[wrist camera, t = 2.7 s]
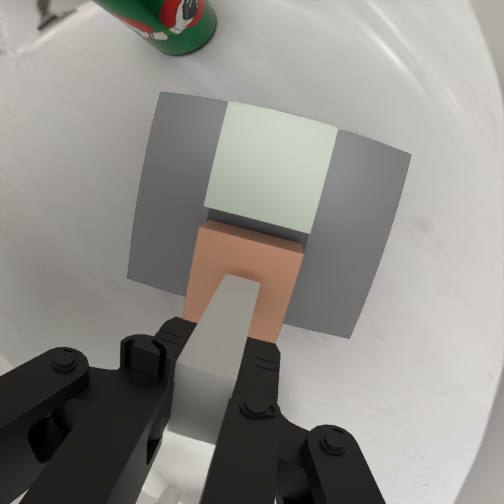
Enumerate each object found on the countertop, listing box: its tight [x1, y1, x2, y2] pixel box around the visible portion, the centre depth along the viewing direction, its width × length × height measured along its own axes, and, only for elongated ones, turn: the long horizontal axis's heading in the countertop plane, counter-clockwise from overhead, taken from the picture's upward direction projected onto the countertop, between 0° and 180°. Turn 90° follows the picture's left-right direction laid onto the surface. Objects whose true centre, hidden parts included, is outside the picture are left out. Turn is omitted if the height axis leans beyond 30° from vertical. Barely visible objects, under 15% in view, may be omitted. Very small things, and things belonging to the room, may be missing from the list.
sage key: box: [204, 101, 339, 234], centre depth 15 cm, size 5×5×2 cm
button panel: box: [127, 92, 412, 339], centre depth 20 cm, size 15×12×4 cm
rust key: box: [182, 220, 304, 344], centre depth 16 cm, size 5×5×2 cm
